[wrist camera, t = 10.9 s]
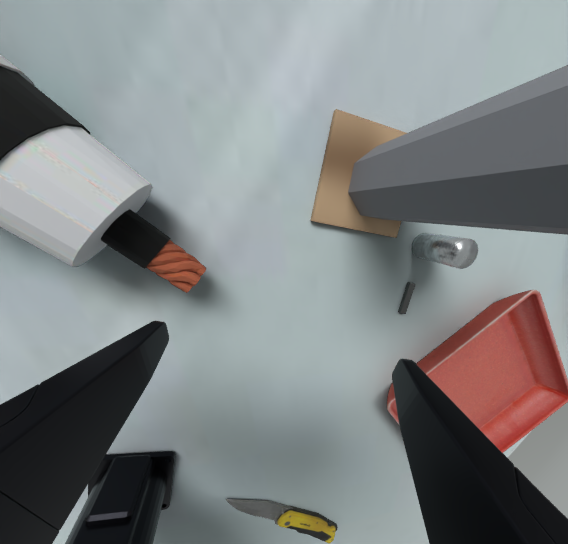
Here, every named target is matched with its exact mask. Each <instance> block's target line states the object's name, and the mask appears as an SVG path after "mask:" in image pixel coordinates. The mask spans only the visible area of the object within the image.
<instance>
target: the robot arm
mask: <svg viewBox="0 0 568 544" xmlns="http://www.w3.org/2000/svg"><path fill="white" fill-rule="evenodd" d="M168 341H169V334H168V330H167V326H166V323H165V322H161V321H153V322H151V323H149V324H147V325H145V326H143V327H142V328H140V329H138V330H136V331H134V332H132V333H131V334H129V335H127V336H125V337H123V338H122V339H120V340H118V341H116V342H114V343H112V344H111V345H109V346H107V347H105V348H103V349H102V350H100V351H98V352H96V353H94V354H92V355H91V356H89V357H87V358H85V359H83V360H82V361H80V362H78V363H76V364H74V365H72V366H71V367H69V368H67V369H65V370H63V371H62V372H60V373H58V374H56V375H54V376H52V377H51V378H49V379H47V380H45V381H43V382H42V383H40V385H36V386H34V387H32V388H30V389H29V390H27V391H25V392H23V393H21V394H19V395H18V396H16V397H14V398H12V399H10V400H8V401H6V402H4V403H3V404H1V405H0V544H52V543H53V541H54V540H55V538H56V536H57V535H58V533H59V530H60V529H61V528H62V526H63V524H64V523H65V521H66V519H67V518H68V516H69V514H70V513H71V511H72V509H73V508H74V506H75V504H76V503H77V501H78V499H79V498H80V496H81V494H82V493H83V491H84V489H85V488H86V486H87V484H88V499H87V501H86V503H85V505H84V507H83V509H82V511H81V513H80V515H79V517H78V519H77V521H76V523H75V525H74V527H73V529H72V531H71V533H70V535H69V537H68V539H67V541H66V543H65V544H153V540H154V536H155V532H156V528H157V524H158V519H159V515H160V511H161V510H164V509H167V508H168V507H169V505H170V500H171V491H172V481H173V472H174V463H175V453H174V452H171V451H168V452H150V453H133V454H115V455H106V453H107V451H108V450H109V448H110V446H111V445H112V443H113V441H114V440H115V438H116V436H117V435H118V433H119V431H120V430H121V428H122V426H123V425H124V423H125V421H126V420H127V418H128V416H129V415H130V413H131V411H132V410H133V408H134V406H135V405H136V403H137V401H138V400H139V398H140V396H141V395H142V393H143V391H144V390H145V388H146V386H147V385H148V383H149V381H150V379H151V377H152V375H153V373H154V371H155V369H156V367H157V365H158V363H159V361H160V359H161V357H162V354H163V352H164V350H165V348H166V346H167V344H168ZM392 380H393V387H394V394H395V401H396V408H397V414H398V420H399V425H400V429H401V433H402V437H403V441H404V445H405V449H406V453H407V457H408V461H409V464H410V468H411V472H412V476H413V480H414V484H415V488H416V492H417V496H418V500H419V504H420V508H421V512H422V516H423V520H424V524H425V527H426V531H427V535H428V539H429V543H430V544H568V519H567V518H566V517H565V516H564V515H563V514H562V513H561V512H560V511H559V510H558V509H557V508H556V507H555V506H554V505H553V504H552V503H551V502H550V501H549V500H548V499H547V498H546V497H545V496H544V495H543V494H542V493H541V492H540V491H539V490H538V489H537V488H536V487H535V486H534V485H533V484H532V483H531V482H530V481H529V480H528V479H527V478H526V477H525V476H524V475H523V474H522V473H521V471H520V470H519V469H518V468H516V467H514V465H513V463H512V462H511V461H510V460H509V459H508V458H507V457H506V456H505V455H504V454H503V453H502V452H501V451H500V450H499V449H498V448H497V447H496V446H495V445H494V444H493V443H492V442H491V441H490V440H489V439H488V438H487V436H486V435H485V434H484V433H483V432H482V431H481V430H480V429H479V428H478V427H477V426H476V425H475V424H474V423H473V422H472V421H471V420H470V419H469V418H468V417H467V416H466V415H465V414H464V413H463V412H462V411H461V410H460V409H459V408H458V407H457V406H456V404H455V403H454V402H453V401H452V400H451V399H450V398H449V397H448V396H447V395H446V394H445V393H444V392H443V391H442V390H441V389H440V388H439V387H438V386H437V385H436V384H435V383H434V382H433V381H432V380H431V379H430V378H429V377H428V376H427V375H426V374H425V373H424V371H423V370H422V369H421V368H420V367H419V366H418V365H417V364H416V363H415V362H414V361H412V360H408V359H400V360H399V361H398V363H397V365H396V367H395V369H394V371H393V374H392Z"/></svg>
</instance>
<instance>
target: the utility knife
mask: <svg viewBox="0 0 568 544" xmlns="http://www.w3.org/2000/svg"><path fill="white" fill-rule="evenodd" d="M226 500H227V502H228V503H229V504H230V505H232V506H233V507H234V508H236V509H238V510H240V511H242V512H245V513H248V514H251V515H254V516H258V517H262V518H263V517H264V518H268V519H272V520H274V521H275V524H277V525H279V526H281V527H285V528H290V529H294V530H297V532H299V533H304V534H308V535H311V536H313V537H315V538H318V539H320V540H322V541H325V542H327V543H331V542H332V541H333V540H334V536H335V532H336V531H337V524H336V523H334V522H332V521H331V520H329V519H328V520H327V518H325V517H324V516H322V515H320V514H319V513H316V512H312V511H308V510H305V509H301V508H297V507H293V506H287V505H283V504H280V503H277V502H273V501H269V500H235V499H226Z"/></svg>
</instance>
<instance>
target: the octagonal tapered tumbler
mask: <svg viewBox="0 0 568 544" xmlns="http://www.w3.org/2000/svg"><path fill="white" fill-rule="evenodd" d="M348 193H349V195H350V197H351V199H352V201H353V203H354V204H355V206H356V208H357V210H358V212H359V214H360V215H362V216H367V217H373V218H378V219H383V220H396V221H408V222H420V223H433V224H445V225H457V226H469V227H482V228H494V229H506V230H518V231H531V232H543V233H555V234H567V235H568V65H567V66H564V67H562V68H560V69H557V70H555V71H553V72H550V73H548V74H546V75H543V76H541V77H539V78H536V79H534V80H532V81H529V82H527V83H524V84H522V85H520V86H517V87H515V88H513V89H510V90H508V91H506V92H503V93H501V94H499V95H496V96H494V97H491V98H489V99H487V100H484V101H482V102H480V103H477V104H475V105H473V106H470V107H468V108H466V109H463V110H461V111H458V112H456V113H454V114H451V115H449V116H447V117H444V118H442V119H440V120H437V121H435V122H433V123H430V124H428V125H426V126H423V127H421V128H418V129H416V130H414V131H411V132H409V133H407V134H404V135H402V136H400V137H397V138H395V139H393V140H390V141H388V142H385V143H383V144H381V145H378V146H376V147H375V148H374V149H372V150H371V151H370V152H368V153H367V154H366V155H364V156H363V157H362V158H361V159H359V160H358V161H357V162H355V163H354V167H353V172H352V176H351V181H350V185H349V190H348Z"/></svg>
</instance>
